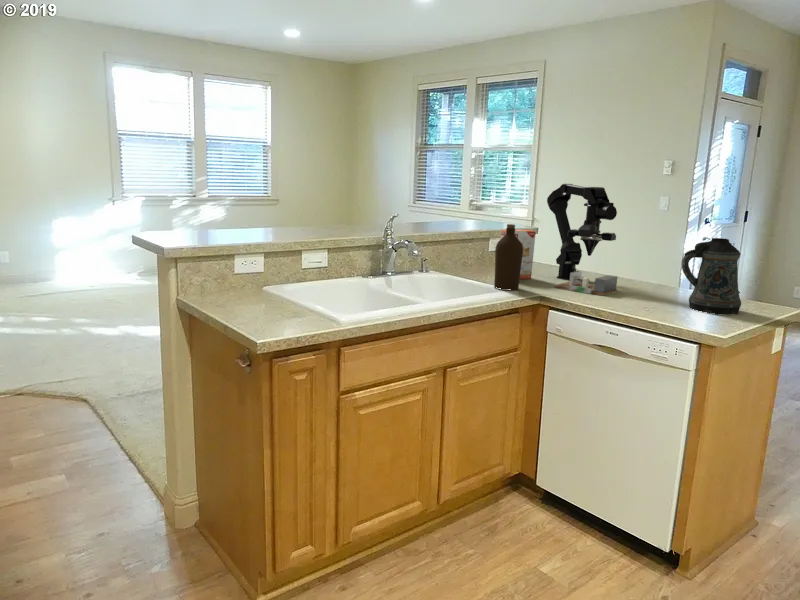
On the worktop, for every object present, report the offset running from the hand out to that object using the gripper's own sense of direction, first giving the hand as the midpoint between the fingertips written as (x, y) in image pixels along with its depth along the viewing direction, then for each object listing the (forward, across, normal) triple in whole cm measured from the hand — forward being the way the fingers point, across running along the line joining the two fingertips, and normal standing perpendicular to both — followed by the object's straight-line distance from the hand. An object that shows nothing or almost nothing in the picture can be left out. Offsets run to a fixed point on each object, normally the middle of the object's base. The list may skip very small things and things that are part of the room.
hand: (589, 255), depth 252 cm
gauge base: (+12, +5, -12) cm, 18 cm away
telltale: (+10, +7, -17) cm, 22 cm away
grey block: (+10, +2, -13) cm, 17 cm away
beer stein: (+12, +51, -12) cm, 54 cm away
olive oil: (+12, -17, -36) cm, 42 cm away
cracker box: (+12, -27, -13) cm, 32 cm away
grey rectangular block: (+11, +13, -12) cm, 21 cm away
